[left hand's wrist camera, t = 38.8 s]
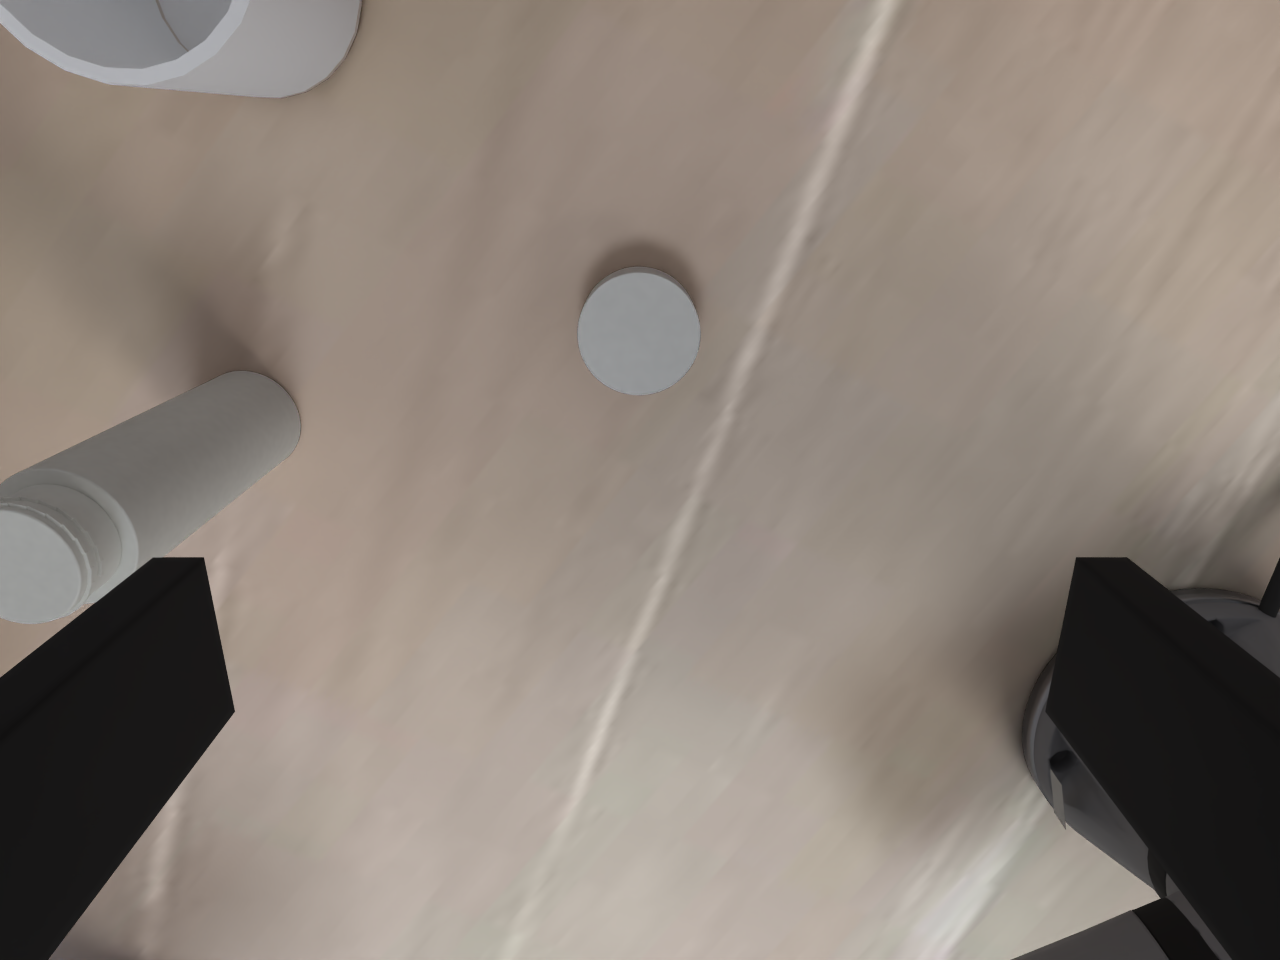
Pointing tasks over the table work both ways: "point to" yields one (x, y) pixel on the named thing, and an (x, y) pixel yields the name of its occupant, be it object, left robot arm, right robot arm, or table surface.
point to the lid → (638, 331)
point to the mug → (191, 41)
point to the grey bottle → (135, 492)
